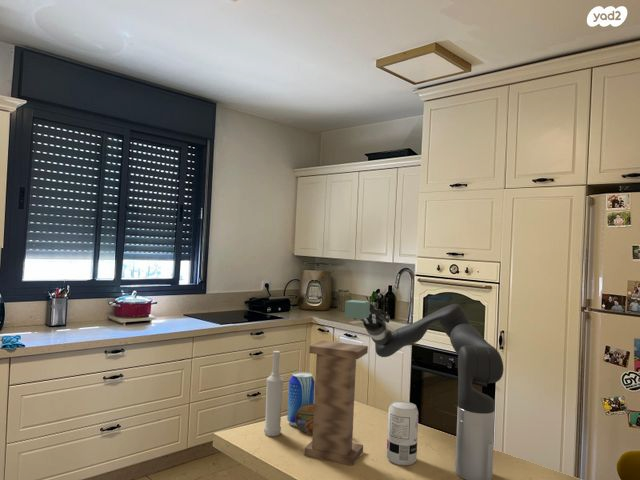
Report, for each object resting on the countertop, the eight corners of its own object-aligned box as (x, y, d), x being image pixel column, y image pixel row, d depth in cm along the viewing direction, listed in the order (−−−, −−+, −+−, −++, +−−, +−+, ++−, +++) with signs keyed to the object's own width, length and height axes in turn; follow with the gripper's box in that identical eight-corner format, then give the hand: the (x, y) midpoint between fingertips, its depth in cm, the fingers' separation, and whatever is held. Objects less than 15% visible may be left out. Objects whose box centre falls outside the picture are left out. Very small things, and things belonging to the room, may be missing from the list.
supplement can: (381, 455, 131) (383, 401, 131) (406, 452, 134) (408, 399, 134) (395, 468, 123) (398, 410, 124) (422, 464, 126) (424, 408, 127)
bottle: (277, 437, 140) (282, 353, 141) (261, 435, 141) (266, 352, 142) (282, 431, 145) (286, 350, 146) (266, 429, 146) (271, 349, 147)
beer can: (283, 420, 155) (286, 371, 156) (306, 418, 158) (309, 370, 159) (292, 429, 147) (295, 378, 148) (316, 426, 151) (319, 376, 151)
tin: (294, 431, 146) (295, 404, 146) (295, 427, 149) (297, 401, 149) (342, 435, 144) (343, 408, 144) (342, 432, 147) (343, 405, 148)
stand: (362, 451, 132) (367, 346, 134) (352, 465, 123) (357, 351, 124) (317, 442, 138) (322, 340, 139) (304, 455, 128) (309, 345, 130)
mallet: (378, 313, 161) (378, 298, 161) (363, 319, 143) (363, 302, 143) (361, 311, 163) (362, 297, 163) (344, 317, 145) (345, 301, 145)
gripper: (359, 315, 175) (348, 294, 161) (396, 318, 169) (387, 297, 156) (355, 334, 171) (344, 314, 157) (393, 338, 166) (384, 317, 152)
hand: (366, 305), depth 157 cm, fingers closed on mallet, 2 cm apart
